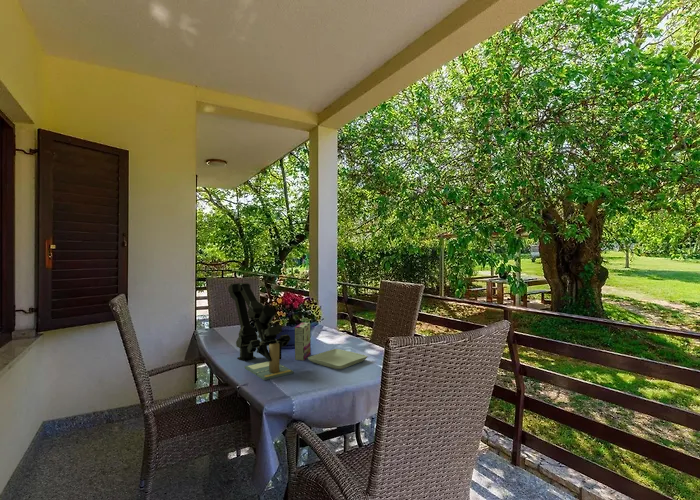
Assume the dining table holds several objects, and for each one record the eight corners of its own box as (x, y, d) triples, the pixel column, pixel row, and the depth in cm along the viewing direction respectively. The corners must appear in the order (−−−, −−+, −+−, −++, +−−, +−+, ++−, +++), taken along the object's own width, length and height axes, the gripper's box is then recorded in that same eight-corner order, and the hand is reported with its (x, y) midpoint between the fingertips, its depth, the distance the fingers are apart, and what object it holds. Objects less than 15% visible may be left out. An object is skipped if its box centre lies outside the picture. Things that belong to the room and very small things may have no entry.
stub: (256, 375, 163) (256, 345, 163) (285, 368, 172) (285, 340, 172) (264, 380, 158) (264, 349, 158) (293, 373, 167) (293, 343, 166)
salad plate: (335, 354, 197) (335, 347, 197) (368, 362, 184) (368, 355, 184) (306, 364, 181) (306, 356, 181) (340, 373, 168) (340, 366, 168)
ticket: (244, 368, 173) (244, 365, 173) (272, 362, 182) (272, 360, 182) (256, 375, 164) (256, 372, 164) (285, 369, 172) (285, 366, 172)
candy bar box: (301, 353, 196) (301, 322, 196) (311, 354, 195) (311, 322, 195) (294, 360, 185) (294, 326, 185) (304, 361, 184) (304, 327, 184)
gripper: (250, 322, 162) (261, 353, 154) (288, 316, 174) (301, 346, 166) (242, 336, 169) (253, 368, 160) (280, 330, 180) (292, 359, 172)
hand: (275, 360), depth 164 cm, fingers closed on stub, 4 cm apart
